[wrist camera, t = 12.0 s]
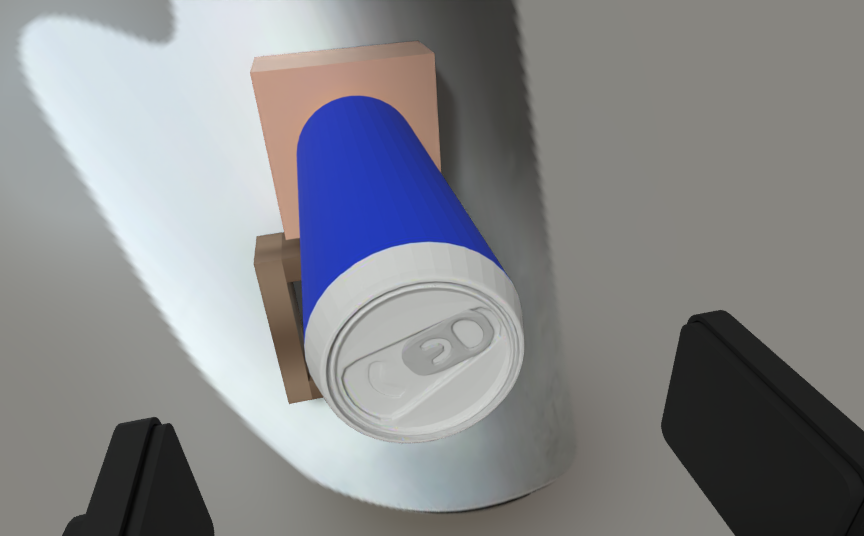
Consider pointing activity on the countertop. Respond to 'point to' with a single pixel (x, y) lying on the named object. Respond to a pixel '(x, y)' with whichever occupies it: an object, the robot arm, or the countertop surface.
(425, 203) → the beverage can
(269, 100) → the stand
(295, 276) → the block
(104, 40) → the countertop surface
